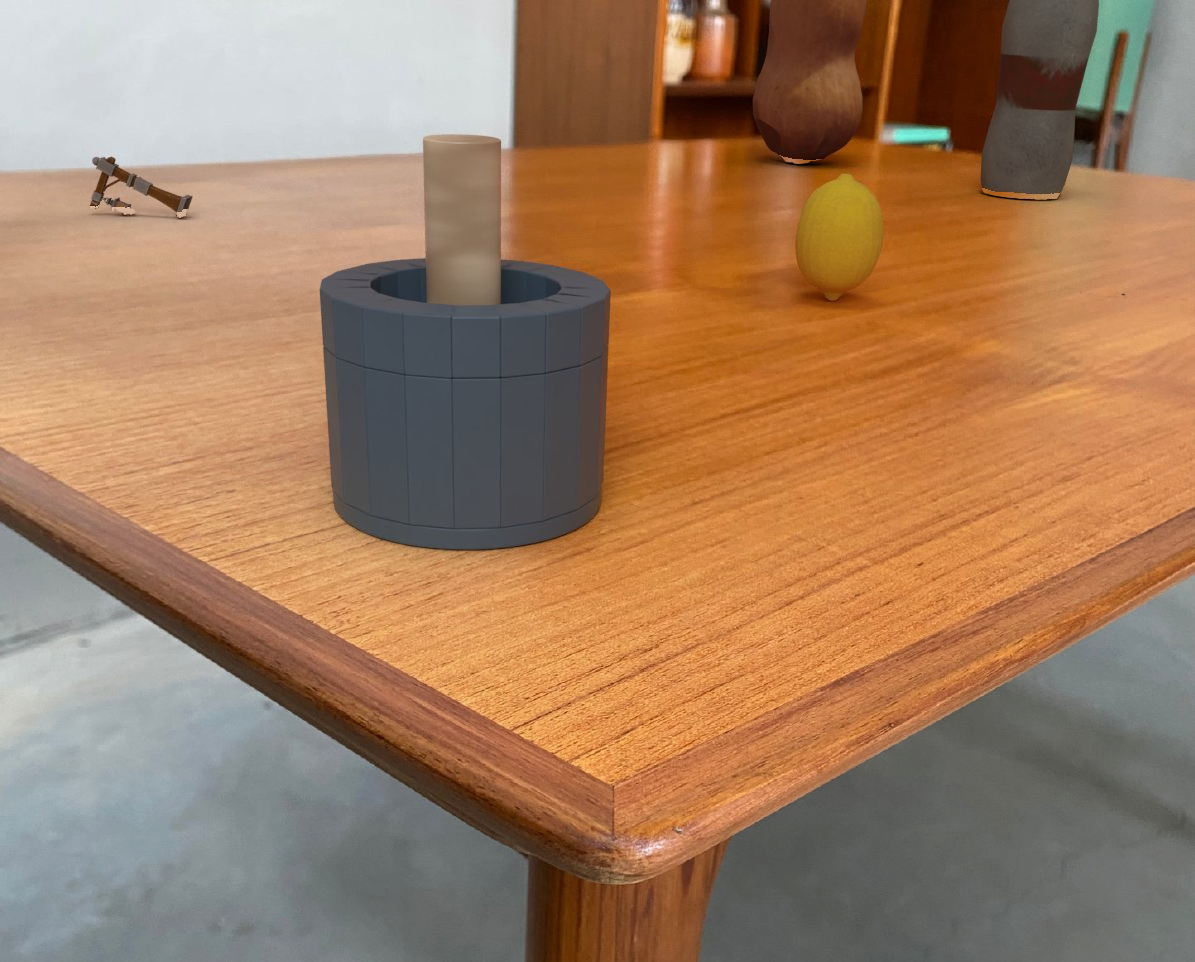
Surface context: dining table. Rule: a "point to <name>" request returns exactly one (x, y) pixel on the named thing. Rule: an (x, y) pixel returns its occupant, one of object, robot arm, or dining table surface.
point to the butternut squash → (810, 78)
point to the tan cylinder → (462, 219)
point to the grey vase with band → (1038, 94)
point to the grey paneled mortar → (465, 405)
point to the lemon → (839, 236)
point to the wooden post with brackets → (133, 181)
